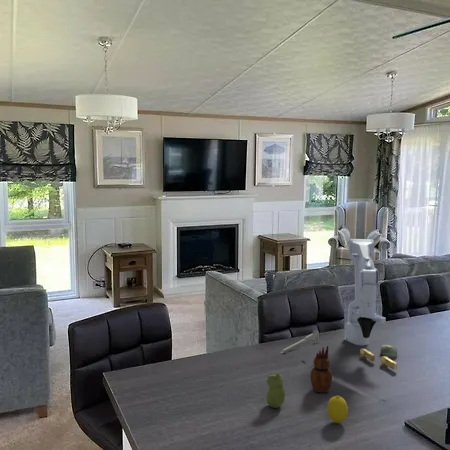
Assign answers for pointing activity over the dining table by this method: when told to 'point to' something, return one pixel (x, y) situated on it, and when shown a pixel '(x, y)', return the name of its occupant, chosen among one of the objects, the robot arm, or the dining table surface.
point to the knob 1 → (366, 354)
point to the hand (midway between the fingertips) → (366, 337)
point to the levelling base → (389, 351)
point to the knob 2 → (388, 362)
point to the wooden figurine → (321, 372)
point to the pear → (275, 391)
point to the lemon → (337, 409)
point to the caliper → (303, 341)
